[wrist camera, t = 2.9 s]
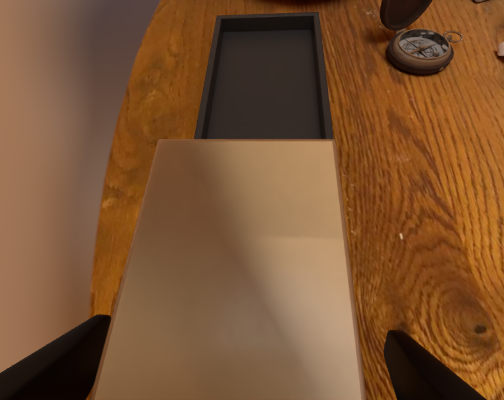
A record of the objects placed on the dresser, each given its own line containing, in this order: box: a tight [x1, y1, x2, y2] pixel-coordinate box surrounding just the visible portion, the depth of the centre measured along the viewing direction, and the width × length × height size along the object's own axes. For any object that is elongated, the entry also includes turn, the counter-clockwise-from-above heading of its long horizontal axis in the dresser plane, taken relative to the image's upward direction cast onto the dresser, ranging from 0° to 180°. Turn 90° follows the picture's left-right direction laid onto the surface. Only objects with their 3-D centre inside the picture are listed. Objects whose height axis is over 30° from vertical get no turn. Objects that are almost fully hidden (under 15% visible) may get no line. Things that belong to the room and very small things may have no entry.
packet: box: [90, 139, 367, 400], centre depth 11 cm, size 7×5×12 cm
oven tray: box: [194, 12, 333, 139], centre depth 21 cm, size 35×11×2 cm, turn 177°
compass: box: [380, 0, 463, 74], centre depth 24 cm, size 8×8×7 cm
